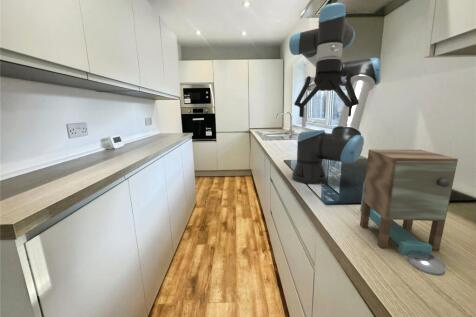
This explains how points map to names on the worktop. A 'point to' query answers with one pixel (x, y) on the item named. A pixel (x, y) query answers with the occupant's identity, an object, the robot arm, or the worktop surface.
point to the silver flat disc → (426, 262)
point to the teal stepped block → (400, 235)
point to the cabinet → (408, 190)
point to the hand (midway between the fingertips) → (323, 127)
